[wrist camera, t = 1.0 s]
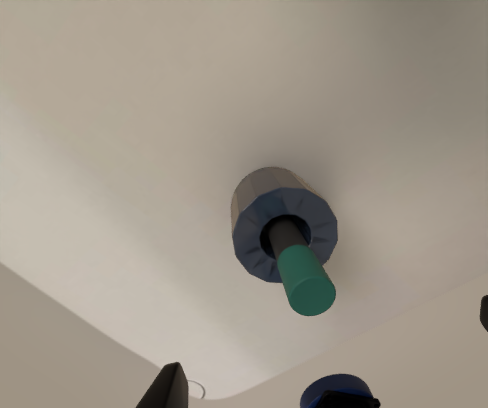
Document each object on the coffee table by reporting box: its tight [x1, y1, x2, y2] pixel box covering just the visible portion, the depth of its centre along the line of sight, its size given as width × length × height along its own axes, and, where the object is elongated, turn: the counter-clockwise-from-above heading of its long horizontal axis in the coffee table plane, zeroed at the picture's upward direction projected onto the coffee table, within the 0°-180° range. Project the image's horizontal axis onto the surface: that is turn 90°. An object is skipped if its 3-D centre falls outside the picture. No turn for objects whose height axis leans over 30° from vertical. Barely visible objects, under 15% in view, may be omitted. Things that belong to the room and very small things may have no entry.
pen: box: [265, 214, 336, 316], centre depth 14 cm, size 2×2×9 cm
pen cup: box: [231, 167, 338, 283], centre depth 16 cm, size 5×6×5 cm
